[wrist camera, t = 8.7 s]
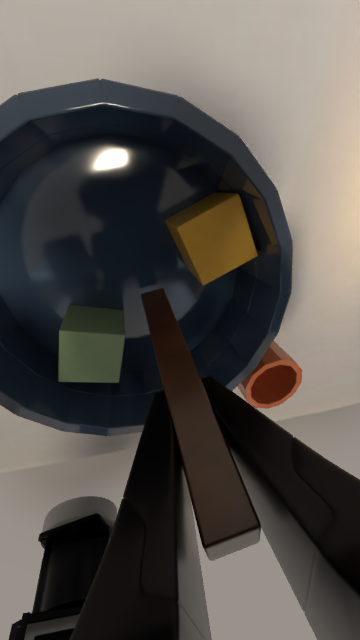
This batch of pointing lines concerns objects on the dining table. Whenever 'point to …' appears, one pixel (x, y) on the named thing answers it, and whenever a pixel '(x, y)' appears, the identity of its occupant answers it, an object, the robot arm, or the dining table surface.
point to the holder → (272, 379)
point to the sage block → (91, 345)
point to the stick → (200, 440)
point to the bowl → (124, 246)
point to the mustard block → (213, 236)
